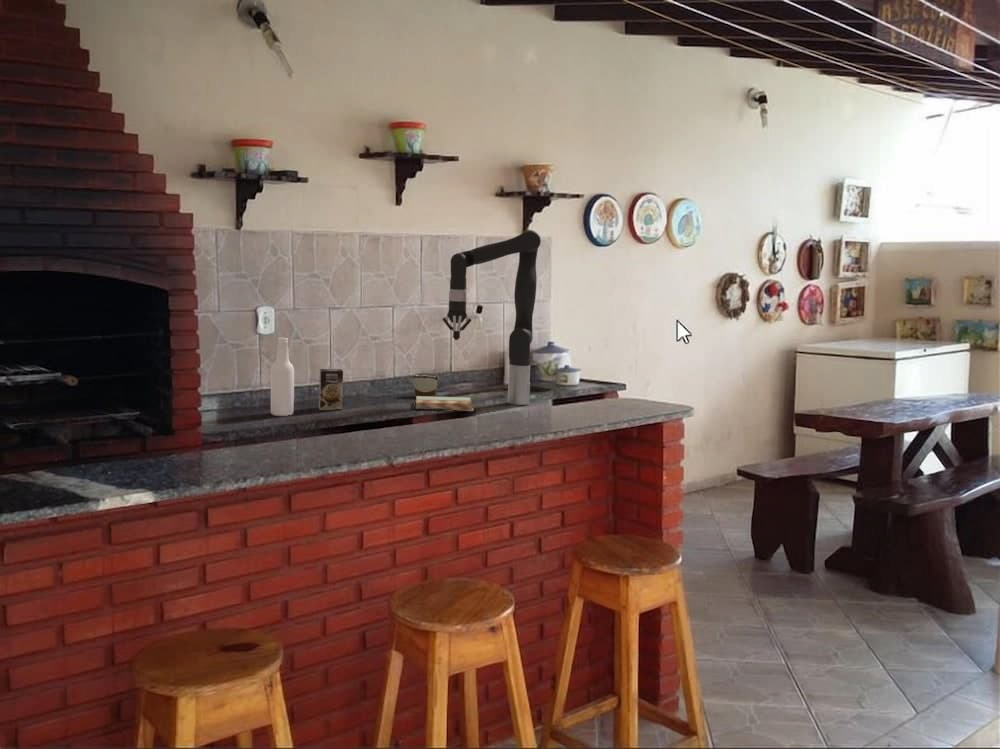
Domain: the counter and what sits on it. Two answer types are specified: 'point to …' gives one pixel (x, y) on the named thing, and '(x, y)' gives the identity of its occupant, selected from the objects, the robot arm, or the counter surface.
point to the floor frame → (446, 404)
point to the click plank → (442, 398)
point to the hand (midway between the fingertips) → (456, 339)
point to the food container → (425, 384)
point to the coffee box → (330, 389)
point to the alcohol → (282, 382)
